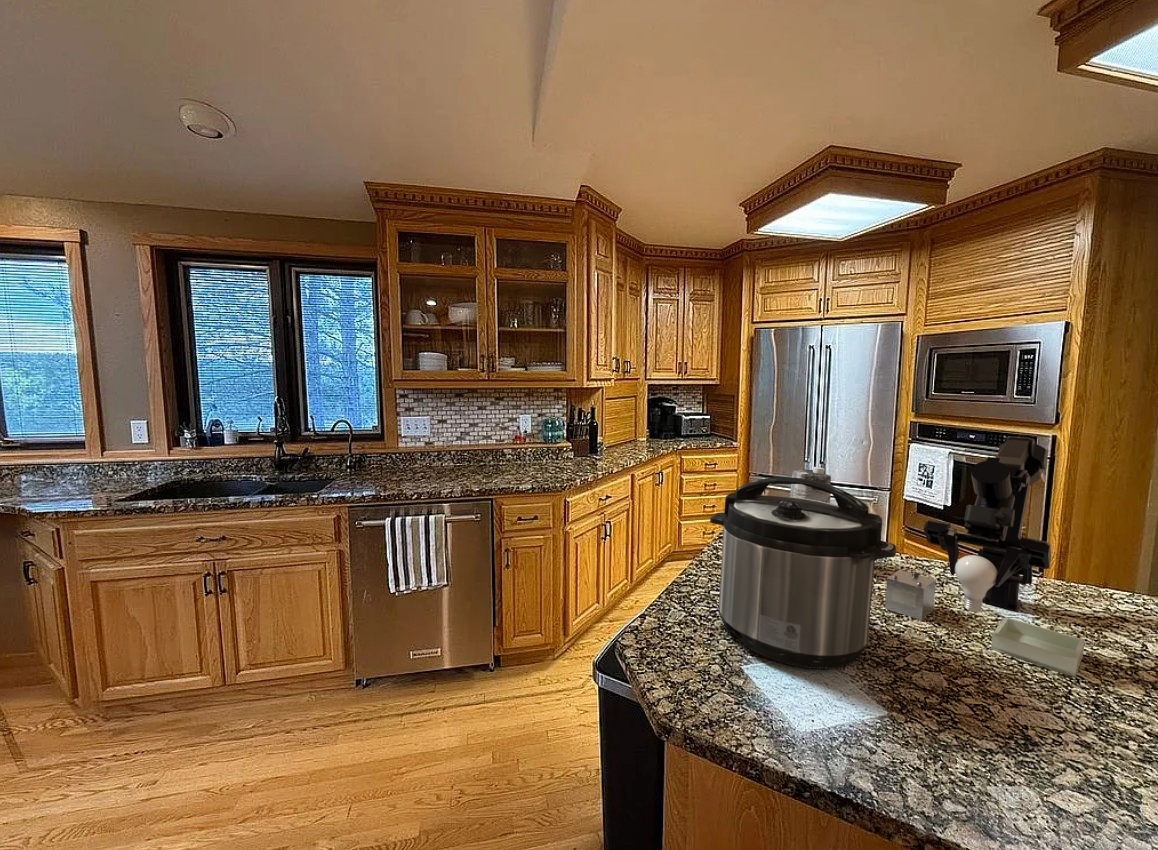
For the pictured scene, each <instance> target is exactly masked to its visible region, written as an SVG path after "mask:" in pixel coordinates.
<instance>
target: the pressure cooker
mask: <svg viewBox="0 0 1158 850" xmlns="http://www.w3.org/2000/svg"><path fill="white" fill-rule="evenodd" d="M791 484H802V485H805V486H808V487H811V488H815V489H818V490H821V491H824V492H827V493H830V494H831V495H832V496H833V497H834V499H835V502H836V504H834V503H831V502H830V503H826V502H821V501H816V500H811V499H804V498H796V497H790V496H785V495H784V496H781V495H762V494H763V493H764V492H765V491H766V489H767V488H768V487H769V485H791ZM869 511H870V510H869V506H868V505H867V504H866V503H865V502H864V501H862V500H860V499H859V497H856V496H854V495H853V494H851V493H849V492H848V491H845V490H843V489H841V488H839V487H836V486H833V485H832V484H831V485H828V484H825V483H822V482H818V481H813V480H808V479H802V478H793V477H792V476H782V477H781V476H778V477H777V476H775V477H767V478H766V477H765V478H762V479H757V480H753V481H750V482H748V483H745V484H743V485H741V486H739V487H738V488H736V490H735V492H732V493H728V494H727V495H725V499H724V511H723V512H721V511H720V512H717V513H715V514H713V515H712V516H710V518H709V523H710V524H713V525H719V526H721V527H722V531H723V532H722V550H721V565H720V580H719V581H720V582H719V585H720V586H719V602H718V610H719V612H718V613H719V617H720V619H721V622H722V624H723V626H724V628H725V630H726V632H727V633H733V635H734V636H735V637H736V638H737V639H739V640H740V642H741V643H742V644H743V645H744V646H745V647H746V648H747V649H748V650H751V651H752V652H754V653H756V654H758V655H760V656H762V657H764V658H767V659H770V660H772V661H774V662H775V661H776V662H779V663H783V664H785V665H790V666H795V667H800V668H801V667H803V668H808V669H809V668H810V669H834V668H839V667H845V666H847V665H849V664H852V663H854V662H855V661H856V660H858V659H859V658H860V657H861V655H862V654H863V653H864V651H865V649H866V647H867V645H868V641H869V634H870V632H869V631H870V624H871V623H870V621H871V620H870V619H871V611H872V609H871V608H872V596H873V588H874V587H873V585H874V574H875V573H874V572H875V565H876V563H875V562H876V561H878V560H881V559H882V560H883V559H885V558H886V559H887V558H894V557H896V556H897V555H896V554H897V546H896V544H894V543H892V542H888V541H885V540H882V530H883V529H882V528H883V518H882V517H881V515H879V514H876V513H870V512H869Z"/></svg>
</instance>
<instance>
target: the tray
mask: <svg viewBox="0 0 1158 850" xmlns="http://www.w3.org/2000/svg"><path fill="white" fill-rule="evenodd" d="M991 636H992V637H991V645H990V649H991V650H993V651H997V652H999V653H1002V654H1004V655H1007V656H1011V657H1013V658H1016V659H1020V660H1023V661H1026V662H1029V663H1031V664H1035V665H1037V666H1041V667H1044V668H1046V669H1049V670H1053V671H1055V672H1057V673H1061V674H1064V675H1067V676H1070V677H1072V678H1076V677H1077V674H1078V671H1079V668H1080V665H1081V663H1082V660H1083V657H1084V653H1085V652H1084V651H1085V642H1086V640H1085V639H1082V638H1079V637H1076V636H1073V635H1069V634H1066V633H1063V632H1060V631H1059V632H1058V631H1055V630H1053V629H1048V628H1045V627H1042V626H1039V625H1034V624H1032V623H1029V622H1028V623H1027V622H1024V621H1022V620H1021V621H1020V620H1018V619H1015V618H1011V617H1007V616H1005V617H1004V618H1003V620H1002V621H1001V622H1000V624H998V625H997V627H996V629H994V632H993V633H992V635H991Z"/></svg>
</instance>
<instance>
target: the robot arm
mask: <svg viewBox="0 0 1158 850" xmlns="http://www.w3.org/2000/svg"><path fill="white" fill-rule="evenodd" d="M1048 458H1049V457H1048V451H1047V449H1046V448H1045V447H1043V446H1041V445H1039V444H1038V443H1036V442H1035V439H1034V438H1030V437H1024V436H1023V437H1022V436H1008V437H1007V436H1006V437H1004V440H1003V443H1001V444H999V447H998V453H997V455H996V457H994V456H987V458H986V459H985V460H984V461H983V460H982V461H979V462H977V463H976V464H974V465H973V466H972V467H971V468H970V475H971V481H972V484H973V485H972V486H973V491H974V493H975V495H976V499H975V503H974V505H973V504H967V505H966V509H965V513H964V519H963V521H964V522H965V523H964V530H966V532H961V531H958V530H956V529H955V528H952V525H951V523H949V522H944V521H939V520H933V519H929V520H928V521H926V522H925V523H924V526H923V532H924V534H925V538H926V541H927V543H929V544H930V545H934V546H939V547H940V549H941V550H943V551H946V552H947V557H948V565H949V569H950V575H951V576H955V575H956V574H955V565H956V563H957V561H958V560H959V557H960V550H959V549H960V548H959V545H958V544H959V543H964V544H969V545H971V546H972V545H973V546H977V547H980V548H979V550H978V552H977V553H978V554H977V556H981V557H983V558H986V559H987V560H989V561H990V562H991V563H992V564H993V565H994V566H995V567H996V569H997V572H998V574H997V577H996V582H995V585H994V586H992V587H991V588H990V589H989V590H988V591H987V592H986V594H985V597H984V598H983V600H982V603H985V604H989V605H993V606H996V607H999V608H1003V609H1007V610H1011V611H1015V612H1017V611H1019V608H1020V607H1021V606H1022V604H1023V602H1022V601H1021V600H1019V591H1020V585H1022V586H1026V585H1032V584H1033V567H1034V568H1039V569H1043V570H1047V569H1050V568H1051V561H1052V549H1051V544H1050V543H1049V542H1048V541H1045V540H1040V539H1034V538H1029V537H1024V536H1022V537H1021V535H1022V530H1023V524H1024V518H1025V515H1026V509H1027V508H1026V507H1027V503H1028V500H1029V499H1028V498H1029V494H1030V487H1031V486H1032V485H1034V484H1035V483H1036V482H1038V481H1039V480H1040V479H1041V478H1042V473H1043V470H1047V466H1048ZM981 547H982V548H981Z"/></svg>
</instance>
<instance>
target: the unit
mask: <svg viewBox="0 0 1158 850" xmlns="http://www.w3.org/2000/svg"><path fill="white" fill-rule="evenodd" d="M936 582H937V581H936V579H934V578H931V577H927V576H924V575H921V574H919V572H916V571H912V572H908V571H905V570H902V569H899V570H897V571H896V572H895V573H893V574H891V575H890V576H888V577H886V587H885V600H884V601H885V603H884V609H886V610H890V611H892V612H895V613H898V614H901V615H904V616H906V617H911V618H913V619H917V620H919V621H923V620H924V619H925V618H926V617H927V616H929V615H930V614H931V613H932V612H933V611H934V609H935V607H934V606H935V597H936V584H937V583H936Z"/></svg>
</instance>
